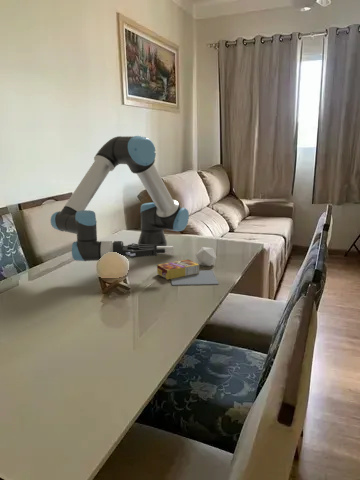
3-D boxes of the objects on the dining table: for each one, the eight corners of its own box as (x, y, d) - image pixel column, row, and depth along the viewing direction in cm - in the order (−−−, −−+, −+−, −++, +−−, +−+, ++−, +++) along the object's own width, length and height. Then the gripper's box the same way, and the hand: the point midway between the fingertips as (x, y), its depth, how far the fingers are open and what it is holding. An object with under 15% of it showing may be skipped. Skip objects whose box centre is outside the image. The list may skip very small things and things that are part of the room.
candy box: (156, 263, 159) (188, 258, 167) (156, 273, 160) (188, 268, 168) (167, 269, 152) (199, 264, 159) (167, 279, 153) (199, 274, 160)
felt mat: (170, 271, 163) (170, 271, 163) (212, 271, 165) (212, 270, 164) (171, 285, 148) (171, 284, 148) (218, 284, 149) (218, 283, 149)
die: (218, 264, 175) (210, 245, 178) (219, 260, 167) (210, 240, 170) (202, 271, 175) (194, 252, 178) (201, 267, 167) (193, 247, 169)
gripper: (115, 255, 158) (172, 254, 160) (111, 265, 146) (174, 263, 147) (114, 237, 157) (172, 236, 158) (110, 245, 144) (174, 244, 146)
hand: (173, 249), depth 153 cm, fingers closed
